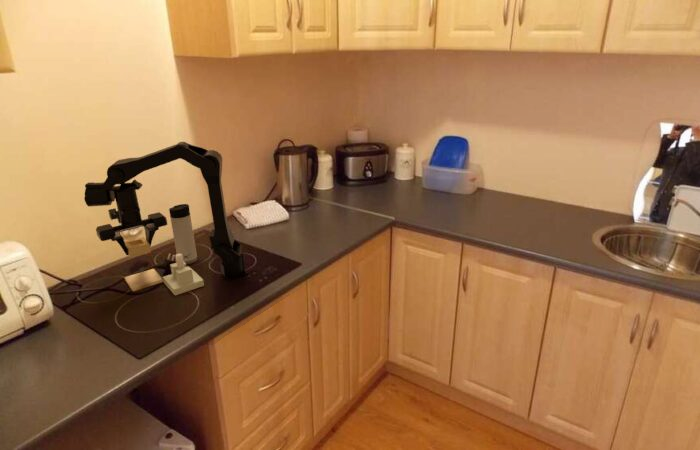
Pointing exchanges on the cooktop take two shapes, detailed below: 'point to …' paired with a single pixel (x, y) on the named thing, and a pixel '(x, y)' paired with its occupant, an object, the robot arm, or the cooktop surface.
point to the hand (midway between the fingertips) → (138, 251)
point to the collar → (137, 247)
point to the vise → (182, 277)
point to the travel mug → (183, 232)
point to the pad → (143, 279)
